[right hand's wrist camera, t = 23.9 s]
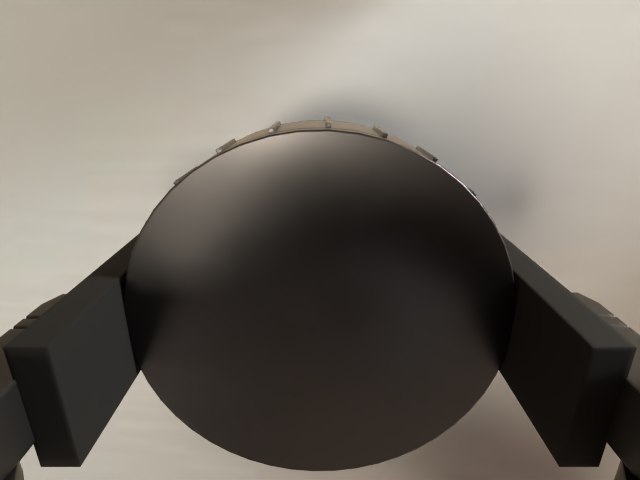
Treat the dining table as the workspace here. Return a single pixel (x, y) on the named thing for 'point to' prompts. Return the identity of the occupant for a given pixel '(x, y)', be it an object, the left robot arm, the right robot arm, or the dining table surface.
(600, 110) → the dining table surface
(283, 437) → the lid
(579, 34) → the dining table surface
